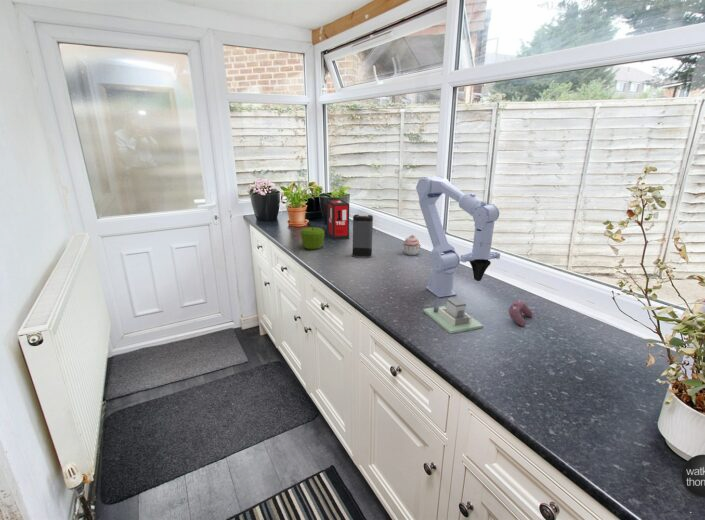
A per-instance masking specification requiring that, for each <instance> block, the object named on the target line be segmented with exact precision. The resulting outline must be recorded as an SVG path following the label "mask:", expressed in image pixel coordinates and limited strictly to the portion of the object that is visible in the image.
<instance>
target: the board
mask: <svg viewBox="0 0 705 520" xmlns="http://www.w3.org/2000/svg"><path fill="white" fill-rule="evenodd" d="M446 306H447V305H441V306H438V305H434V306H432V307H428V308H423V312H424V313H425V314H426V315H427V316H428V317H430V318H431V319H432V320H433V321H434V322H436V323H437V325H439V326H440V327H442V328H443V329H444V330H445V331H446V332H448V334H451V335H452V334H455V333H461V332H466V331H472V330H478V329H483V328H484V324H482V323H480V321H478V320H477V319H475V318H474V317H472V316H471V315H469V314H468V313H467V312H465V315H464V317H460V318H453V317H452V316H450V315H449V314H448V313H446Z"/></svg>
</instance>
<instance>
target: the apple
mask: <svg viewBox="0 0 705 520" xmlns="http://www.w3.org/2000/svg"><path fill="white" fill-rule="evenodd" d="M300 236H301V238H300V239H301V242H302V246H303V247H304V248H305V249H307V250H309V249H310V250H312V251H313V250H314V251H315V250H318V249H320V248H321V247H322V246H323V245H324V240H325V236H326V235H325V230H324V229H323V228H321V227H318V226H317V227H313V226H311V227H310V226H308V227H305V228H303V229H301V231H300ZM310 250H309V251H310Z"/></svg>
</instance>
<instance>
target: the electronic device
mask: <svg viewBox="0 0 705 520" xmlns="http://www.w3.org/2000/svg"><path fill="white" fill-rule="evenodd" d="M373 218H374V216H373V215H371V214H367V215H360V214H354V215H353V216H352V257H353V258H365V257H366V259H367V258H369V257H370V258H372V255H373V253H372V251H373V224H374V223H373V221H374V219H373Z"/></svg>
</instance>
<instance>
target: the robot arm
mask: <svg viewBox="0 0 705 520" xmlns="http://www.w3.org/2000/svg"><path fill="white" fill-rule="evenodd" d="M415 189H416V193H417V195H418V203H419V207H420V209H421V213H422V216H423V220H424V223H425V226H426V229H427V231H428V235H429V238H430V241H431V244H432V247H433V248H432V249H431V251H430V253H429V255H430V265H431V269H430V271H429V275H428V285H427V286H426V289H427V290H428V291H430V292H431V293H432V294H434V295H435V296H436V297H438V298H445V297H450V296H457V295H458V294H457V292H455V291H454V290H453V288H454V287H453V286H454V280H455V279H454V278H455V271H456V269H457V267H459V265H460V263H467V262H469V264H470V266H471V268H472V273H473V280H475V281H477V282H481V280H482V279H483V276H484V275H485V272H486V271H487V269H488V268H489V266H491V260H493V259H496V260H499V259H500V258H501V252H498V251H491V250H492V248H491V247H492V242H493V235H494V230H495V229H494V226H495V222H496V221H497V220H498V219H499V217H500V210H499V208H498V207H497V206H496V205H495V204H494V203H489V204H488V203H487V201H485V200H482V199H480V198H478V197H477V196H476V193H474V192H472V193H470V192H467V193H464V192H463V191H461V189H459V188H458V187H456V185H454V184H452V183H451V182H450V181H449V179H448V178H445V177H444V176H443V175H438V176H422V177H420V178H419V179H418V181H417V183H416V186H415ZM442 195H444V196H447V197H449V198H450V199H452V200H454V201H456V202H457V203H458V207H459V208H460V209H461V210H463V211H464V212H465V213H467V214H469V215H470V216H471V217H472V219H473V222H474V225H473V227H474V233H473V240H472V248H471V250H472V251H471V252H469V253H466V254H460V255H459V254H458V253H457V251H456V250H455V247H454V246H453V245H451V244H450V243H449V242H448V239H447V236H446V233H445V230H444V226H443V225H442V224H443V223H442V221H441V218H440V215H439V211H438V209H437V206H436V203H437V201H438V200H439V198H441V196H442Z"/></svg>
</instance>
